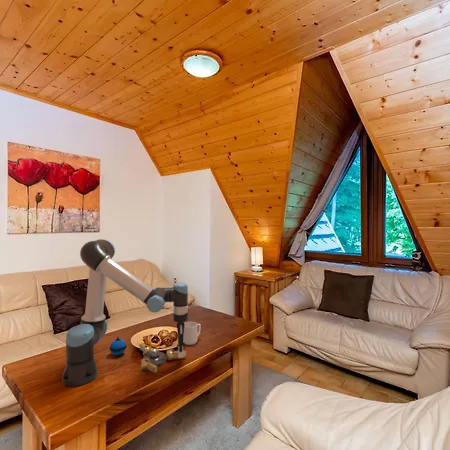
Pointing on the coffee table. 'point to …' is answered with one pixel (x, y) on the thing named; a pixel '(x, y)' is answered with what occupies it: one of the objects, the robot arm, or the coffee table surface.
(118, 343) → the ornament
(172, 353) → the knob
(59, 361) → the coffee table surface
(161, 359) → the tribrach plate
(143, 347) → the knob
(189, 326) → the mug
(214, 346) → the coffee table surface
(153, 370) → the knob
